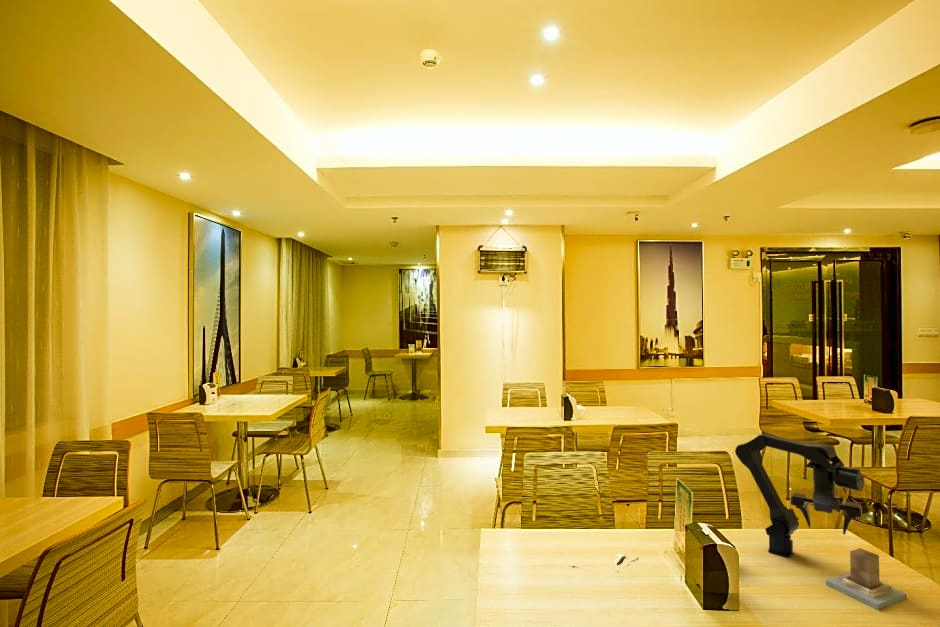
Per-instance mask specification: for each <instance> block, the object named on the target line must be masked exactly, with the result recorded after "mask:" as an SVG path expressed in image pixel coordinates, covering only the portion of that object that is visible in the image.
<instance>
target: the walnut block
mask: <svg viewBox="0 0 940 627" xmlns="http://www.w3.org/2000/svg"><path fill="white" fill-rule="evenodd" d="M849 557H850V558H849V561H850V562H849V564H850V572H851V581H852V582H854V583H857V584H859V585H861V586H863V587H865V588H867V589H870V590H873V589H875V588H878V587H880V581H881V580H880V555H879V554H876V553H873V552H871V551H868V550H865V549H863V548H857V549H853V550H850V551H849Z"/></svg>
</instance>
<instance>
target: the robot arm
mask: <svg viewBox="0 0 940 627" xmlns="http://www.w3.org/2000/svg"><path fill="white" fill-rule="evenodd" d="M767 447H768V448H771V449H776V450H778V451H779V450H780V451H784V452H787V453H791V454H795V455H799V456H800V457H803V458H804V459H806V460H808V461H809V462H808V463H807V464H805V467H806V468H809V469H812V475H813V476H812V478H813V480H812V481H813V495H812V498H809V497H807V494H804V493H799V492H794V493H792V494H791V496H790V505H792V506H795V508H796V509H799V510H800V512H801V513H802V514H803V516H804V519H805V521H806V523H807V526H808V528H812V522H811V514H810V509H809V508H810V507H809V505H811V506H813V509H814V510H815V511H816V512H823V513H827V514H832V513H833V510H835V511H836V510H840V511H843V512H844V515H843V516H844V519H843V527H842V534H843V535H846V532H847V530H848V527H849V524H850V522H851V521H852V519H853V520H856V519H857V518H861V517H862V515H863V514H862V513H863V508H862V505H861V504H860V503H857V502H851V501H846V502H845V504H844V503H840V498H838V497H837V496H836V485H837V486H838V487H839V488H844V489H846V490H847V489H848V490H852V491H857V492H862V491H863V490H864V487H865V478H864V476H863V474H862V472H861V469H860V468H857V467H849V466H845V464H844V462H843V461H842V460H841V459H840V458H839V456H838V455H837V452H836V451H835V449H834V448H833V447H832V446H831V444H829V443H820V442H803V441H802V442H801V441H796V440H793V439H790V438H789V439H788V438H785V437H781V436H776V435H771V434H769V433H761V434H758V435H756V437H754V438H753V439H751V440H749V441H748V442H745V443H740V444H739V445H737V446H736V447H735V450H734V453H735V455H736V456H737V458H738V460H739V461H740V463H741V464H742V465H743V466H745V467H746V468H747V469H748V470H749V471H750V474H751V475H752V478H753V480H754V482H755V484H756V485H757V487H758V489H759V492H760V493H761V495H762V497H763V499H764V501H765V503H766V504H767V506H768V507H767V508H768V509H769V520H770V522H771V524H770V525H769V526H768V527H766V528H765V530H764V531H765V532H766V535H767V536H768V539H769V540H768V542H769V543H768V544H769V546H768V550H767V552H768V553H771V554H774V555H778V556H782V557H785V558H790V557H791V556H792V555H793V553H794V540H792V535H793V534H794V532H796V531H797V530H798V529H799V526H800V524H799V520H800V519H799V517H797V514H796V513H795V511H794V509H793V507H791V508H788V507H787V506H785V504H784V503H783V501H782V499H781V497H780V495H779V494H778V492H777V489H776V487H775V486H774V484H773V482H772V480H771V478H770V477H769V475H768V472H767V471H766V469H765V467H764V466H763V456H762V452H761V451H763V450H764V449H765V448H767Z"/></svg>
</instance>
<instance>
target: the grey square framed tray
mask: <svg viewBox="0 0 940 627" xmlns="http://www.w3.org/2000/svg"><path fill="white" fill-rule="evenodd" d="M825 585H826V586H828V587H830V588H832V589H834V590H836V591H838V592H840V593H842V594H844V595H847V596H848V597H850V598H852V597H853V599H854V600H857V601H859V602H861V603H863V604H865V605H867V606H870V607H871V608H873V609H874V610H875V609H876V610H881V609H883V608H885V607H889V606H891V605H893V604H896V603H899V602H901V601H904V600H906V599H907V598H908V597H907V592H904V591H902V590H900V589H897V588H895V587H893V586H892V585H890V584H888V583H886V582H883V581H882V580H880V587H878V588H875V589H873V590H870V589H867V588H865V587H863V586H861V585H859V584H857V583H854V582H852V581H851V571H849V572H845V573H842V574H840V575H836V576H834V577H830V578H827V579H826V580H825Z"/></svg>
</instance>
